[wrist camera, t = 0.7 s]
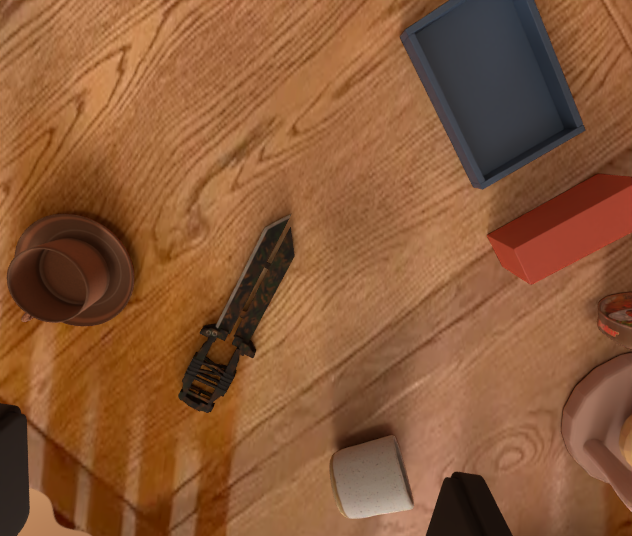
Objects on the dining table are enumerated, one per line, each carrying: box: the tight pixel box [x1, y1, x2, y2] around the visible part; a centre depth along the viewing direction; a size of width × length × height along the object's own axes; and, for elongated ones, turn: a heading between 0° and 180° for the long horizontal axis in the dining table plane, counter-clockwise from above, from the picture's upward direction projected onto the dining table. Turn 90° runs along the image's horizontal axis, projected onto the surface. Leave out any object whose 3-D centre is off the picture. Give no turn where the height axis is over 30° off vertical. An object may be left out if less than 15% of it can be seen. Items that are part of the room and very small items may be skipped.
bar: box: [487, 174, 632, 285], centre depth 38 cm, size 4×12×6 cm, turn 121°
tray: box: [400, 0, 585, 189], centre depth 36 cm, size 16×10×2 cm, turn 31°
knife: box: [178, 214, 295, 413], centre depth 44 cm, size 25×6×1 cm, turn 147°
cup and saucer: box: [7, 214, 134, 326], centre depth 40 cm, size 12×12×6 cm
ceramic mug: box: [330, 435, 414, 518], centre depth 46 cm, size 11×8×8 cm
